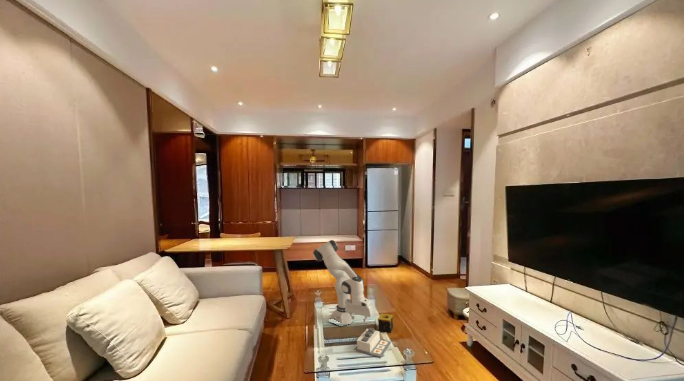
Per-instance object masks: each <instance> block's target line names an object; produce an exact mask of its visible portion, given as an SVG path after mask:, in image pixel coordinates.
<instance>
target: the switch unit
mask: <svg viewBox="0 0 684 381" xmlns="http://www.w3.org/2000/svg"><path fill="white" fill-rule="evenodd" d="M368 329H369V328H366V329H365V331H363V333H361V335H360V336H359V337H358V338H357V340H356V346H355V347H354V348H353V351H354V350H356V351H355V352H358V353H360V354H361V353H362V354H365V355H369V356H373V357H376V358H379V359H381V358H383V356H384V354H385V352H386V351H387V350H388V348H389V347H390V345H391V344H392V341H391V340H386V339H382V338H381V336H380V333H381V332H379V331H378V330H375V332H374V333H373V334H372V336H371V337H370V338H368V337H366V338H368V341H367V342H364V341H362V338H363V337H365V333H366V332H367V331H368Z"/></svg>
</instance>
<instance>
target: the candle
mask: <svg viewBox="0 0 684 381" xmlns="http://www.w3.org/2000/svg"><path fill="white" fill-rule="evenodd" d="M393 319H394V318H393V314H387V313H386V314H385V313H380V314H379V317H378V318H377V323H378V325H377V327H378V328H377V331H379V333H385V332H387V333H386V334H391V333H392V332H393V328H394V322H393Z"/></svg>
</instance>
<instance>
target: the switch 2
mask: <svg viewBox="0 0 684 381" xmlns="http://www.w3.org/2000/svg"><path fill="white" fill-rule="evenodd" d="M371 336H372V332H368V331H367V332H366V333H365V337H368V338H370V337H371Z"/></svg>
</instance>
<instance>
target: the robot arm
mask: <svg viewBox="0 0 684 381" xmlns="http://www.w3.org/2000/svg"><path fill="white" fill-rule="evenodd" d="M338 249H339V246H338V243H337V242H336V241H335V240H333V239H330V240H329V241H326V242H325V243H323V244H322V245H319V247H317V248H315V249H314V250H313V252H312V254H313V255H312V256H313V258H314V259H315V260H316V262H322V261H323V262H324V266H325V267H326V269H327V271H328V272H329V273H330V275H331V276H333V278H334V279H335V280H336V281H335V284H334V289H335V291H336V296H337V305H335V310H334V311H332V313H331V314H330V318H331V319H334V320H336V321H338V322H340V323H342V324H350V323H351V322H352V321H353V320H355V316H354V315H358V316H363V317H364V318H363V322H364V323H367V319H368V318H371V317H372V316H373V306H372V305H371V303H372V302H371V299H368V298H366V297H365V294H364V291H365V290H364V286H365V282H364V279H363V278H362V277H361V276H360V275H359V274H358V273H357V272H356V271H355V270H354V269H353V267H352V266H351V265H350V264H349V263H348V262H347V261H346V260H344V259H342V258H341V257H340V256H339V255H338V253H337V251H338Z"/></svg>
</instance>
